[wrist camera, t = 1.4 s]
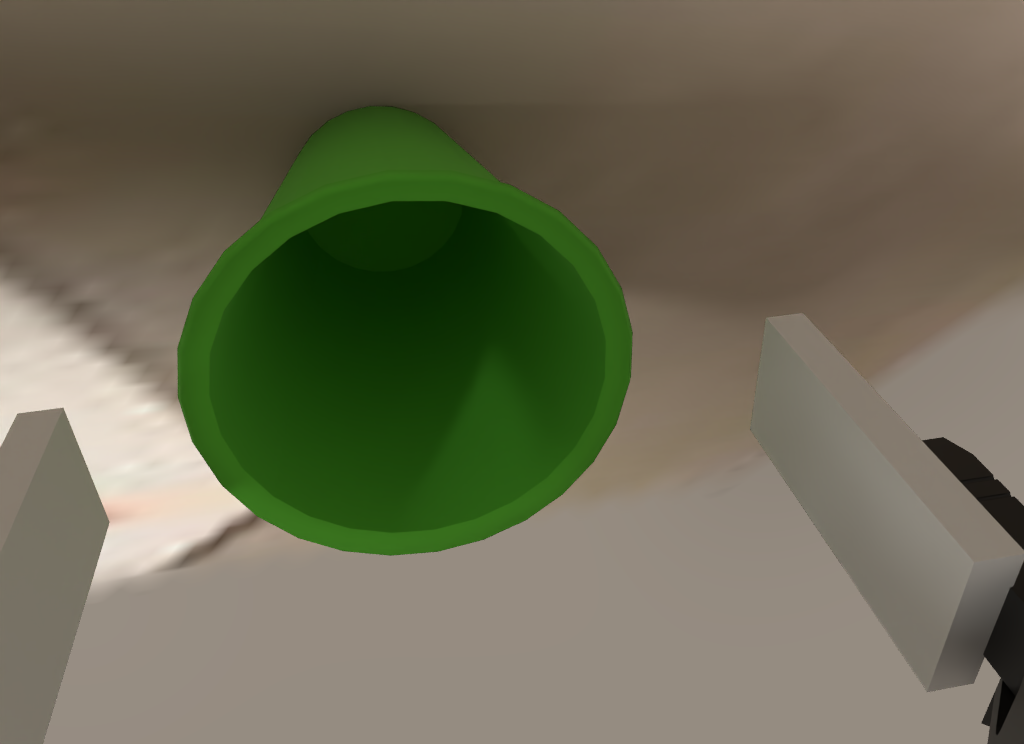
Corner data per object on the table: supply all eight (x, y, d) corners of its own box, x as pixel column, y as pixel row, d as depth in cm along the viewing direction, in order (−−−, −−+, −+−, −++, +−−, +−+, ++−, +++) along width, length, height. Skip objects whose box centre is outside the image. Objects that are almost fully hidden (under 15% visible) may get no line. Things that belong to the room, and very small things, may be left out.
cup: (582, 199, 28) (713, 393, 19) (370, 367, 30) (396, 616, 21) (394, -42, 23) (448, 62, 14) (155, 176, 25) (66, 392, 16)
